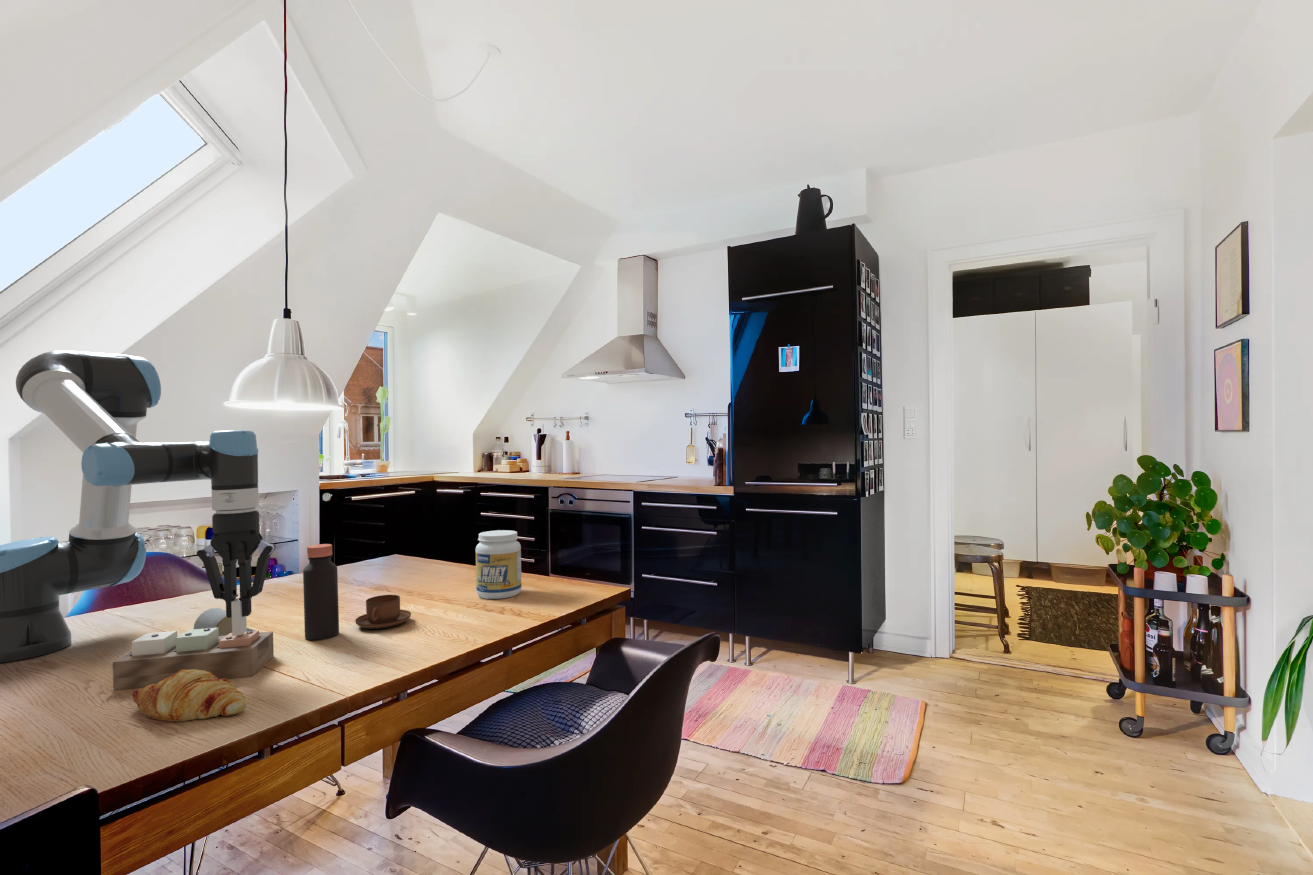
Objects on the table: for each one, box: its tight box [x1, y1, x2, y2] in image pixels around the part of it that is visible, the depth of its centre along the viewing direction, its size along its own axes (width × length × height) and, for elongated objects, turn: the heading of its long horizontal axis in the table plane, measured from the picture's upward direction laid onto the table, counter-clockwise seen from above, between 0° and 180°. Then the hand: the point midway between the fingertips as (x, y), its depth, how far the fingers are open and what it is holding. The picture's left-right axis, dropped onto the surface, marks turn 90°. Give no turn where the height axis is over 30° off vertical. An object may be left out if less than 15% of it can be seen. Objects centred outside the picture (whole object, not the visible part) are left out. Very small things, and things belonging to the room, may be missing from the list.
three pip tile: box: [219, 630, 260, 648], centre depth 122 cm, size 5×5×4 cm
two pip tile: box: [176, 628, 219, 652], centre depth 120 cm, size 5×5×4 cm
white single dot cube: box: [131, 630, 178, 656], centre depth 118 cm, size 5×5×4 cm
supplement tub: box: [474, 529, 522, 600], centre depth 174 cm, size 12×12×17 cm
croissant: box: [131, 669, 247, 723], centre depth 103 cm, size 21×10×8 cm, turn 80°
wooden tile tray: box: [112, 631, 275, 691], centre depth 120 cm, size 22×11×5 cm, turn 103°
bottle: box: [302, 543, 340, 641], centre depth 140 cm, size 7×7×20 cm
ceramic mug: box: [192, 607, 256, 636], centre depth 138 cm, size 10×8×7 cm
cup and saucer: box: [354, 594, 412, 630], centre depth 148 cm, size 12×12×6 cm
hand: (239, 633), depth 122 cm, fingers closed
